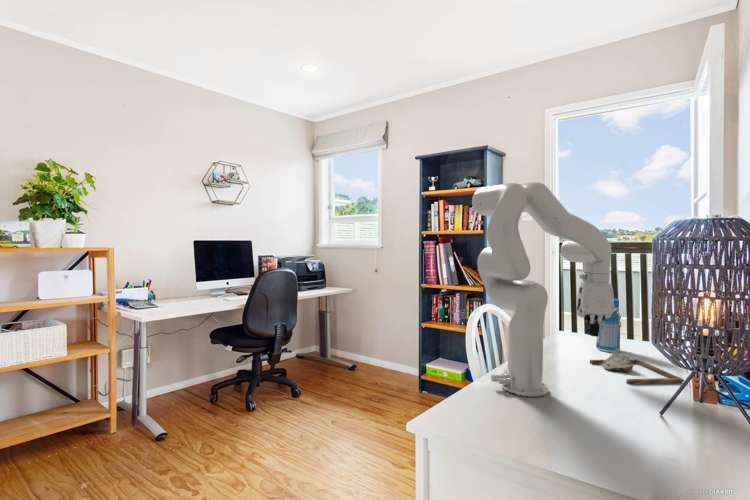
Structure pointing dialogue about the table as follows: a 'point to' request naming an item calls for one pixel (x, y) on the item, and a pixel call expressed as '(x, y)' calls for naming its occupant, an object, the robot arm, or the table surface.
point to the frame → (670, 377)
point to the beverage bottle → (610, 331)
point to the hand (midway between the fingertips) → (592, 335)
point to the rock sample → (618, 362)
